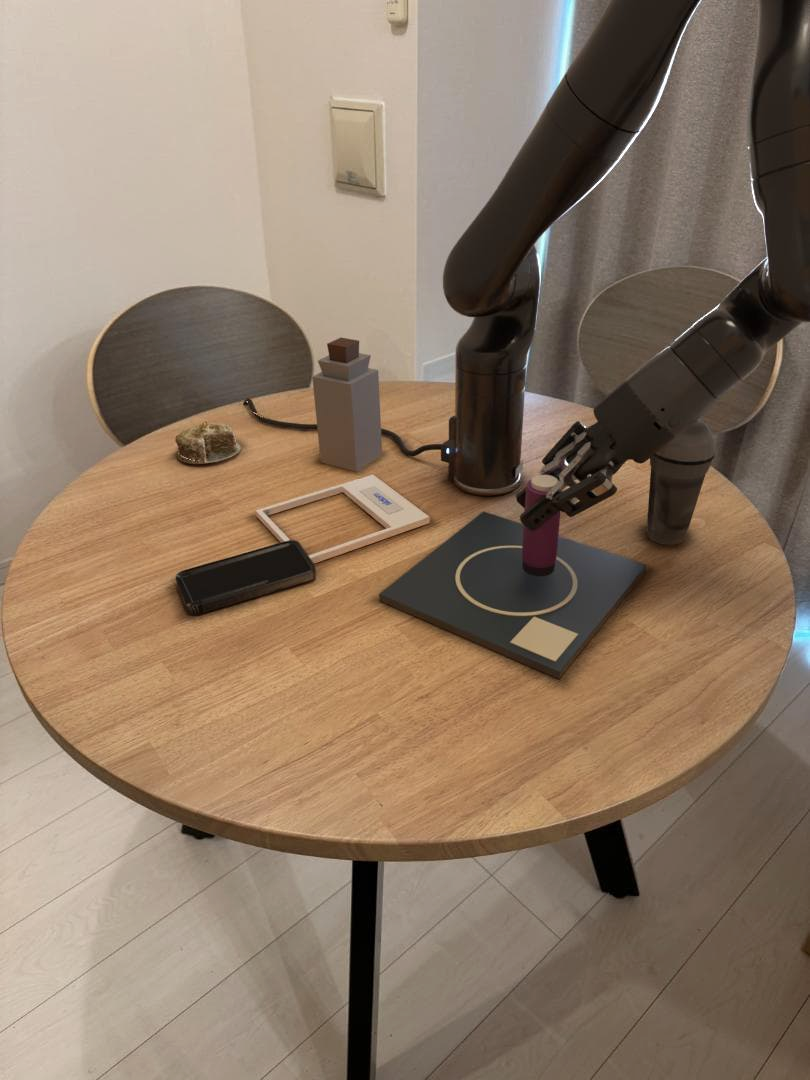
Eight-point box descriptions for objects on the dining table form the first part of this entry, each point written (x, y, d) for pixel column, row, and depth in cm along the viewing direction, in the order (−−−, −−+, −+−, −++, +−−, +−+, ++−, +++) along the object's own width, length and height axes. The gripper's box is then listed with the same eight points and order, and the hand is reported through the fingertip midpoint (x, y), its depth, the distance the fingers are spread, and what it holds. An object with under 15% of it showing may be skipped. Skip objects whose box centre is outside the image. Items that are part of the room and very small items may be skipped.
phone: (173, 572, 85) (296, 537, 91) (175, 580, 86) (297, 545, 91) (187, 609, 79) (318, 570, 85) (189, 618, 80) (319, 578, 85)
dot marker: (515, 570, 83) (519, 482, 77) (531, 554, 85) (537, 469, 79) (545, 581, 81) (552, 492, 75) (561, 565, 83) (569, 478, 77)
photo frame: (429, 515, 95) (302, 559, 87) (429, 522, 96) (303, 567, 88) (372, 473, 106) (255, 509, 98) (373, 480, 106) (256, 516, 98)
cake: (163, 462, 115) (155, 429, 112) (209, 439, 122) (202, 408, 119) (209, 471, 110) (201, 437, 107) (254, 446, 117) (248, 414, 114)
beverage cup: (700, 553, 88) (735, 394, 77) (637, 548, 89) (663, 391, 79) (692, 522, 94) (724, 371, 83) (633, 518, 95) (657, 368, 85)
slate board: (379, 600, 82) (378, 592, 81) (483, 517, 97) (483, 510, 96) (559, 679, 70) (560, 670, 70) (646, 571, 85) (647, 563, 85)
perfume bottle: (382, 454, 114) (376, 339, 104) (356, 472, 109) (348, 352, 99) (347, 445, 117) (338, 332, 107) (320, 462, 112) (309, 345, 102)
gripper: (614, 356, 77) (494, 463, 84) (648, 407, 65) (504, 527, 72) (658, 403, 80) (538, 503, 87) (698, 461, 68) (555, 571, 75)
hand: (523, 513), depth 79 cm, fingers closed on dot marker, 3 cm apart
